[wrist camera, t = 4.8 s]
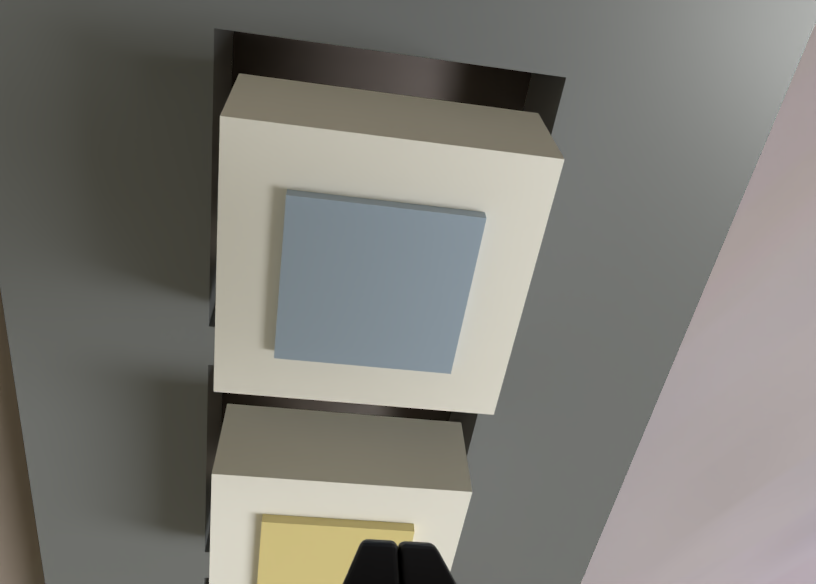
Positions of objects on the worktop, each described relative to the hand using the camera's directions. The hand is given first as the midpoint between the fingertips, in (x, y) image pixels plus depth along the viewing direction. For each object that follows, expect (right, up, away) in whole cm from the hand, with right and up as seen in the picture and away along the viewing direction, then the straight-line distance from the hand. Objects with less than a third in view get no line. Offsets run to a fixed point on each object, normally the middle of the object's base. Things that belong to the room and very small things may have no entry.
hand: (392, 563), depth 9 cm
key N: (0, +4, +5) cm, 7 cm away
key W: (-2, -2, +9) cm, 9 cm away
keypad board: (-2, 0, +11) cm, 12 cm away
